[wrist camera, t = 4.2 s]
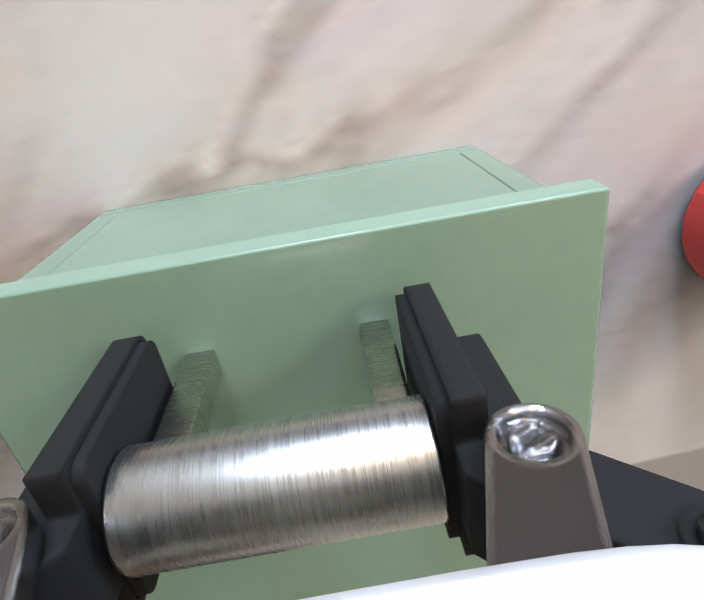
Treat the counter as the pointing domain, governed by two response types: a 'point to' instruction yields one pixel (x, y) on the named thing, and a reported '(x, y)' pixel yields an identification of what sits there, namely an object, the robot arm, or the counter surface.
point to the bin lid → (306, 386)
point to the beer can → (695, 231)
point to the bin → (285, 207)
